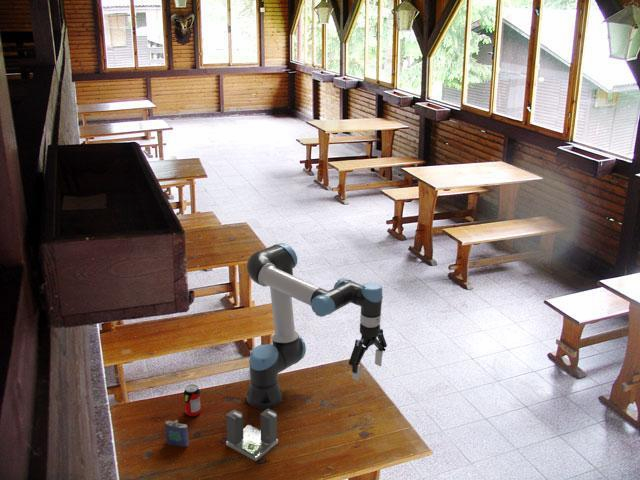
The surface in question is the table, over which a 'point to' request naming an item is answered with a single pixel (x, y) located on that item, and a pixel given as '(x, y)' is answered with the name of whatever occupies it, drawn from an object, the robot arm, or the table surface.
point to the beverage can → (192, 400)
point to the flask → (176, 434)
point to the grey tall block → (268, 426)
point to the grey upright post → (234, 427)
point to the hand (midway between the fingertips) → (367, 371)
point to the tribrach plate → (252, 443)
